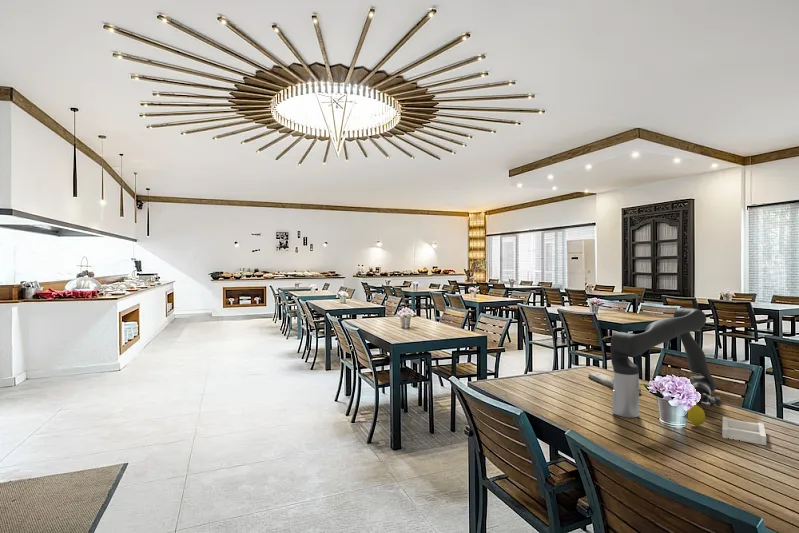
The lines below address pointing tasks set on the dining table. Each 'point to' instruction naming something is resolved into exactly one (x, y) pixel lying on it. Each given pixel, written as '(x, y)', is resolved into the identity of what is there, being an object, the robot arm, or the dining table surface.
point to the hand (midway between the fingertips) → (697, 402)
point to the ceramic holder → (744, 431)
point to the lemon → (696, 415)
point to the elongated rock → (603, 379)
